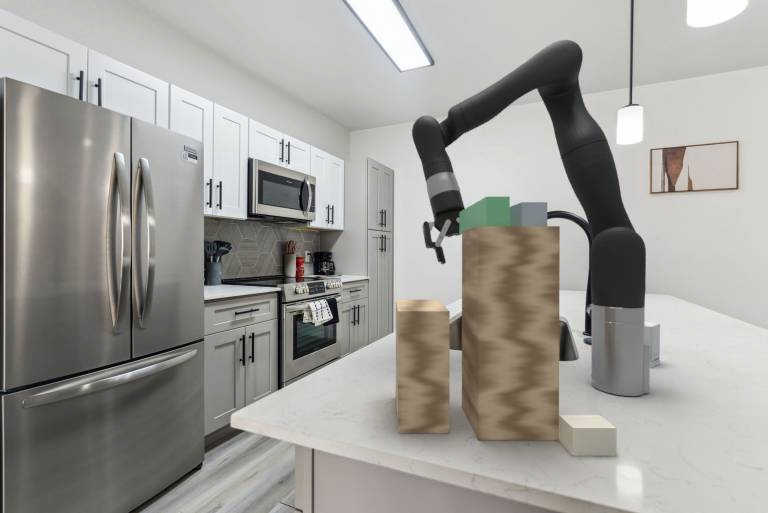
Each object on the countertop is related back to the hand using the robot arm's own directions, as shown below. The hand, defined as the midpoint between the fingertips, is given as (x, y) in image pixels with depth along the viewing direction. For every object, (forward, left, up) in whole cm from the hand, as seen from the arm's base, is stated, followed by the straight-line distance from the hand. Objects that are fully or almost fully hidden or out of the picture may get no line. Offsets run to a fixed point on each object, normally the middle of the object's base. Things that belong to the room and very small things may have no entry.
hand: (461, 259), depth 83 cm
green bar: (0, +19, +6) cm, 20 cm away
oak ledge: (+11, +20, -26) cm, 35 cm away
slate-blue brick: (-6, +23, +6) cm, 25 cm away
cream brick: (-12, +31, -27) cm, 43 cm away
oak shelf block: (-3, +23, -26) cm, 35 cm away
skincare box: (-47, -11, -27) cm, 55 cm away
